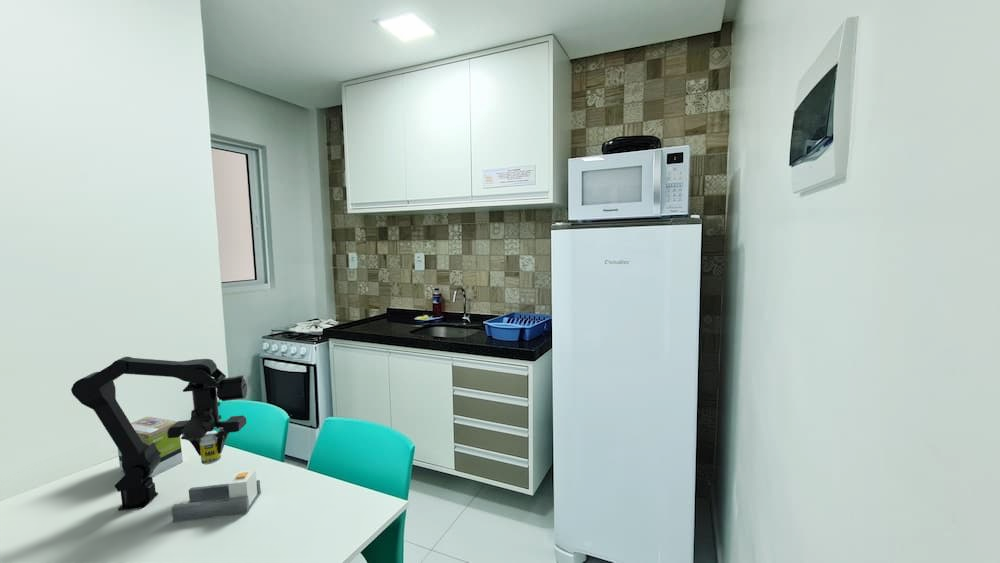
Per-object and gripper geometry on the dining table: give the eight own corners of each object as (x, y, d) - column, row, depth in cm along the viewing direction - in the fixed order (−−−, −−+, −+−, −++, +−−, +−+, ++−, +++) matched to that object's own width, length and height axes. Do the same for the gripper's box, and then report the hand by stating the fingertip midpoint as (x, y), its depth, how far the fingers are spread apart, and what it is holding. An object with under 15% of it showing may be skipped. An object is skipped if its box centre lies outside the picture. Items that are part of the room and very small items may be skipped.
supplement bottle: (204, 466, 118) (201, 439, 117) (199, 462, 121) (196, 434, 120) (223, 459, 122) (220, 432, 121) (217, 454, 125) (214, 428, 124)
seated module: (230, 508, 111) (227, 481, 110) (240, 494, 117) (238, 469, 116) (248, 505, 112) (246, 479, 111) (257, 492, 118) (255, 467, 117)
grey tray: (173, 522, 108) (171, 507, 107) (192, 501, 116) (191, 487, 116) (247, 512, 111) (246, 498, 110) (260, 492, 119) (259, 479, 119)
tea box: (118, 472, 133) (113, 428, 132) (152, 456, 143) (148, 415, 141) (151, 478, 129) (146, 433, 127) (184, 462, 138) (179, 419, 137)
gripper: (151, 417, 110) (157, 472, 112) (227, 411, 113) (232, 464, 115) (176, 402, 121) (181, 452, 123) (245, 396, 124) (249, 445, 126)
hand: (210, 454), depth 121 cm, fingers closed on supplement bottle, 5 cm apart
